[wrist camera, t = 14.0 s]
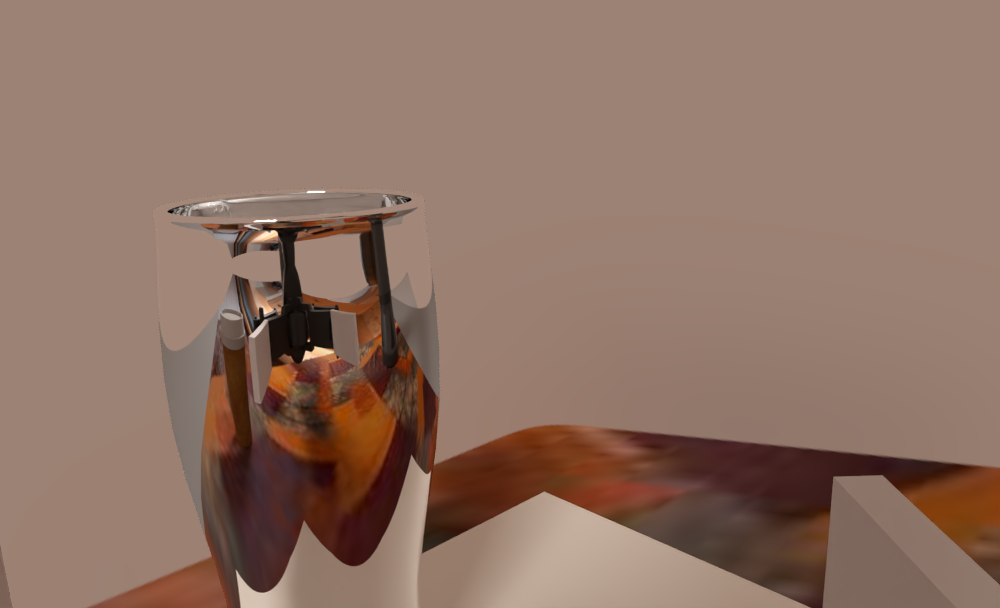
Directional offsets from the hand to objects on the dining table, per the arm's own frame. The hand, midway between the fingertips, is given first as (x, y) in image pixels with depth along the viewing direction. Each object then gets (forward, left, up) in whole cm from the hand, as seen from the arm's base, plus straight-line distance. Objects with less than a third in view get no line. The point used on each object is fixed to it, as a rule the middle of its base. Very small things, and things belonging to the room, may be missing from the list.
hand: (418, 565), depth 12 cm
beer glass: (+1, -9, -10) cm, 14 cm away
